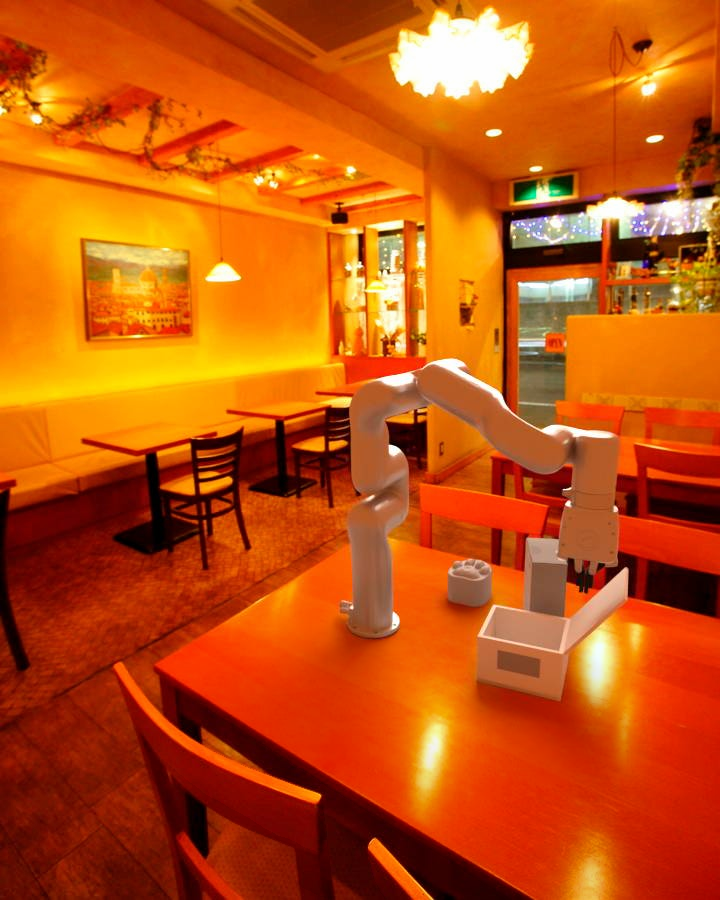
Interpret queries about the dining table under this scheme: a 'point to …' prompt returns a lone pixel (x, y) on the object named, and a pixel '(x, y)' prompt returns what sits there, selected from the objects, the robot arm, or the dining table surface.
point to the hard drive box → (544, 578)
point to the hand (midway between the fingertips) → (583, 590)
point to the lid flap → (597, 610)
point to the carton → (523, 651)
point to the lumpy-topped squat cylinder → (469, 582)
